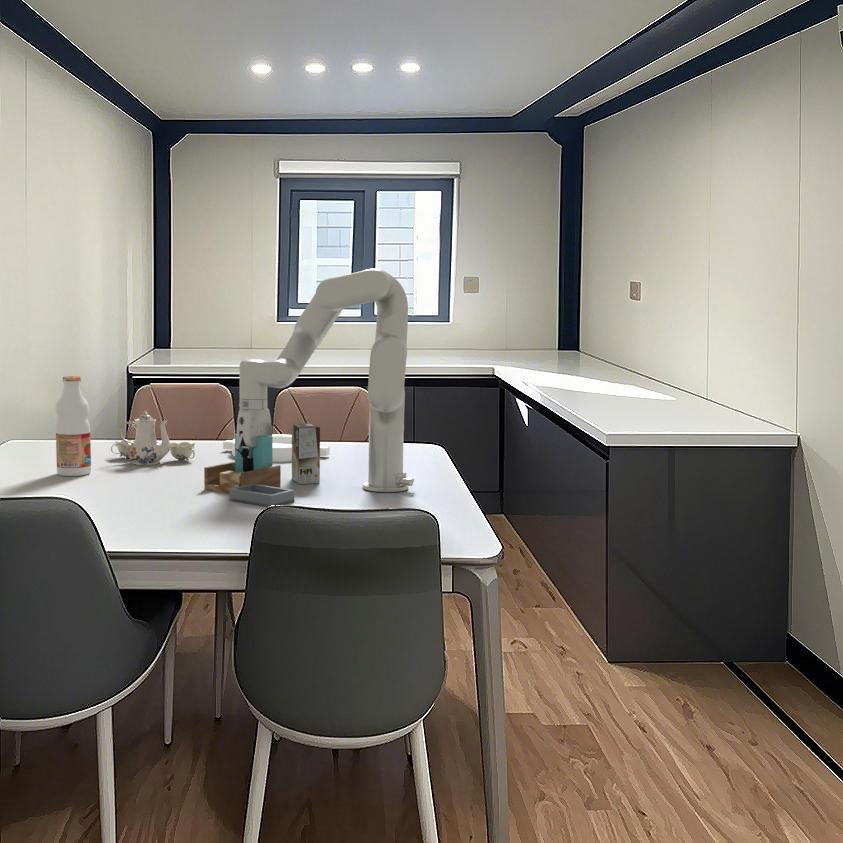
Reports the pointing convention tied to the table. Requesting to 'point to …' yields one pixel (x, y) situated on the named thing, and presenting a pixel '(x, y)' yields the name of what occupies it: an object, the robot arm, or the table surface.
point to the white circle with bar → (278, 448)
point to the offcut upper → (231, 477)
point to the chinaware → (151, 444)
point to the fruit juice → (73, 430)
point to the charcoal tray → (262, 495)
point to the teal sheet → (257, 454)
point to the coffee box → (306, 453)
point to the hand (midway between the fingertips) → (253, 470)
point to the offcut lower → (229, 485)
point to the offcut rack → (259, 476)
